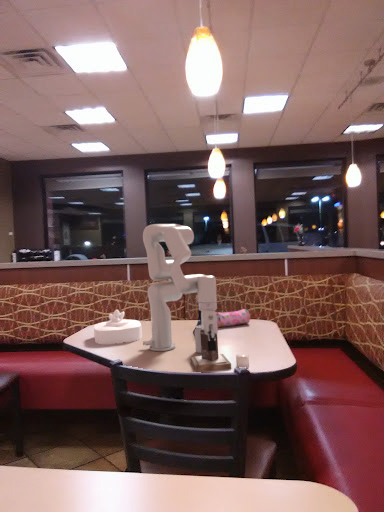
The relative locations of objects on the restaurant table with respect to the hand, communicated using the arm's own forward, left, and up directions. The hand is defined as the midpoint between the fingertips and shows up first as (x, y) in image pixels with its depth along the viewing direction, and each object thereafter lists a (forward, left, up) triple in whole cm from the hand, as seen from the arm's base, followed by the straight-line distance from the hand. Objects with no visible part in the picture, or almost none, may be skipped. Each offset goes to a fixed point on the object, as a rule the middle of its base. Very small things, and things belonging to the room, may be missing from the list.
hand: (209, 347), depth 163 cm
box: (0, 0, -5) cm, 5 cm away
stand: (0, 0, -7) cm, 7 cm away
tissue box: (-39, +63, -8) cm, 74 cm away
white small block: (+12, -6, -7) cm, 15 cm away
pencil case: (+28, +70, -8) cm, 76 cm away
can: (+1, +20, -7) cm, 21 cm away
